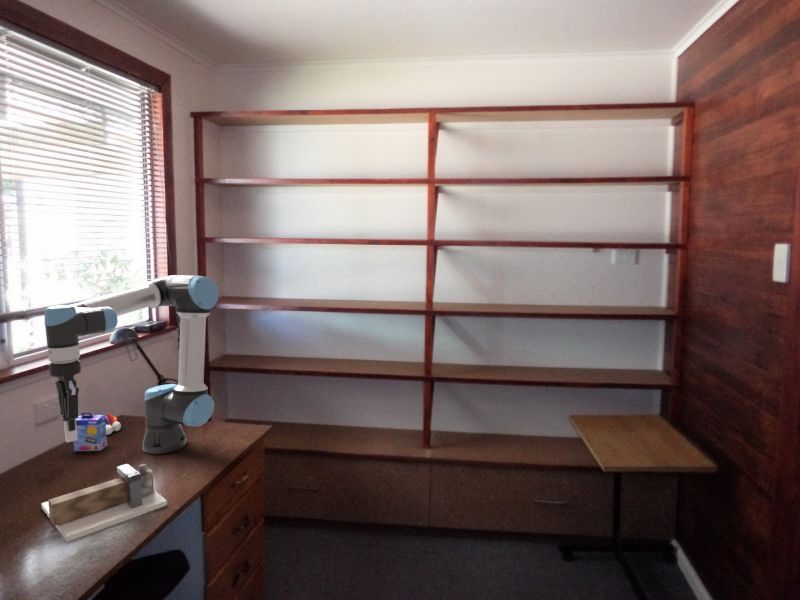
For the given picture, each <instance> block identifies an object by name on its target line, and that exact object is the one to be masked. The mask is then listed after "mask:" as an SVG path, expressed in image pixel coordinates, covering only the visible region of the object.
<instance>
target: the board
mask: <svg viewBox="0 0 800 600" xmlns="http://www.w3.org/2000/svg"><path fill="white" fill-rule="evenodd" d="M40 504H41V509H42V510H43V512H44V514H47V515H46V516H47V518H48V519H49V518H50V513H49V502H48V500H47V501H44V502H42V503H40ZM166 505H167V506H168V500H167V499H165V497H163V496H162V495H161V494H159V493H158V492H157V491H156V490H155V489H154V492H153V493H151V494H149V495H147V496H142V505H141V506H138V507H135V508H133V509H131V508H130V507H129V506H128V503H127V501H126V502H123V503H120V504H118V505H115V506H112V507H109V508H106V509H103V510H100V511H97V512H94V513H91V514H88V515H85V516H82V517H79V518H76V519H74V520H71V521H68V522H65V523H62V524H59V525H56V526H54V527H55V529H57V531H58V532H59V533H60V535H61V537H63V539H64V540H65V541H66V542H67V543H68V542H71V541H73V540H76V539H79V538H81V537H85V536H88V535H90V534H92V533H95V532H98V531H100V530H104V529H106V528H109V527H111V526H114V525H117V524H120V523H122V522H126V521H128V520H131V519H133V518H137V517H139V516H142V515H145V514H147V513H150V512H153V511H155V509H156V510H158V509H161V508H163V507H164V508H165V507H166ZM149 511H150V512H149Z"/></svg>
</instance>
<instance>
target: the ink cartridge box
mask: <svg viewBox="0 0 800 600" xmlns="http://www.w3.org/2000/svg"><path fill="white" fill-rule="evenodd" d="M105 416H106V415H105V414H92V411H91V412H80V415H78V418H76V425H77V437H78V440H75V441H72V443H73V451H74V452H101V451H102V450H103V449H105V448H106V447H107V446H108V439H107V436H108V435H106V424H105Z"/></svg>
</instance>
